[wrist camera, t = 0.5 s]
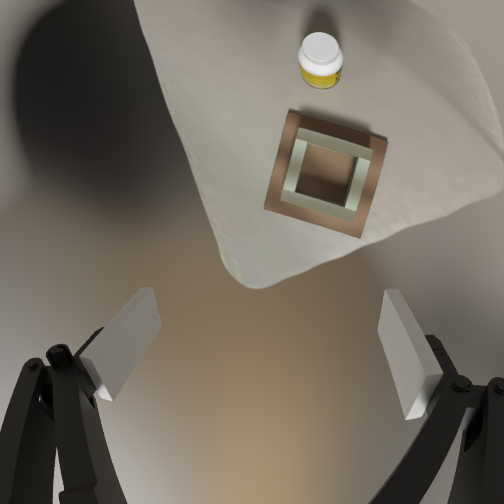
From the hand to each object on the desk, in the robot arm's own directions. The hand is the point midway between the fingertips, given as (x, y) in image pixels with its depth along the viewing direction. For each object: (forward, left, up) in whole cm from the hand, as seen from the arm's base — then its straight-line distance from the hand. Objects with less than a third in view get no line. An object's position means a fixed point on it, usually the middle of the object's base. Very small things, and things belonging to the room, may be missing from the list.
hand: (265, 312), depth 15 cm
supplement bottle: (-22, -3, -26) cm, 34 cm away
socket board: (-8, +1, -26) cm, 27 cm away
